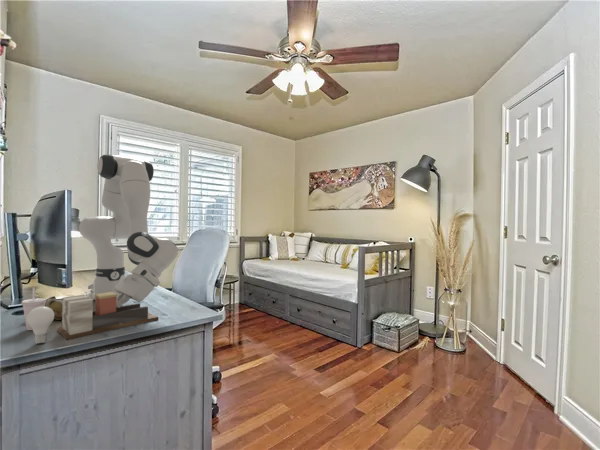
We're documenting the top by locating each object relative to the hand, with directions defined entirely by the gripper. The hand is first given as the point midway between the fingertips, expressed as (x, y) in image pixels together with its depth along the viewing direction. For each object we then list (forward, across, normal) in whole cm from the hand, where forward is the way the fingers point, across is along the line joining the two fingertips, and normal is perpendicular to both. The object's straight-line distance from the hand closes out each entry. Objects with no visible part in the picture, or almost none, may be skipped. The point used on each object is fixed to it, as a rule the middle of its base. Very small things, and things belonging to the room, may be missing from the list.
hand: (115, 306), depth 112 cm
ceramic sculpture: (+14, -23, -5) cm, 28 cm away
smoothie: (+19, -14, -10) cm, 26 cm away
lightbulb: (+20, +4, -11) cm, 23 cm away
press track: (+6, 0, +3) cm, 7 cm away
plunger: (+6, 0, +1) cm, 6 cm away
